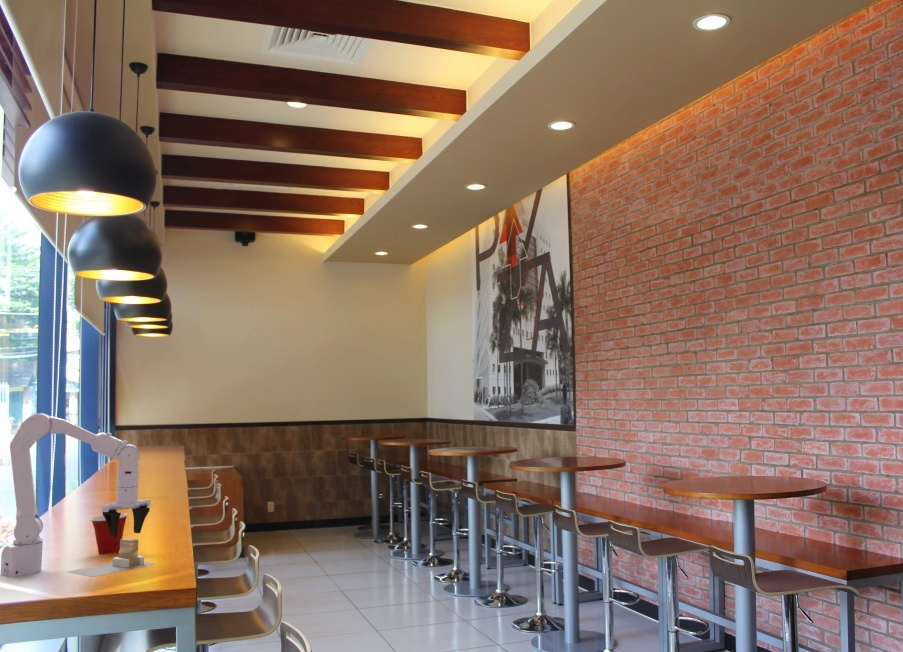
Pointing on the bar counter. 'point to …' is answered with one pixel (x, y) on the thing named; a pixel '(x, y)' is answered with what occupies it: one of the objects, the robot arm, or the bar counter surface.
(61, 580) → the bar counter surface
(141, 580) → the bar counter surface
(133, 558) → the wooden block
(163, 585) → the bar counter surface
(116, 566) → the clip board
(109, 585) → the bar counter surface
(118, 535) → the plastic cup
